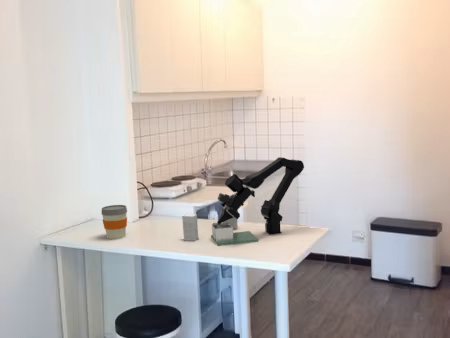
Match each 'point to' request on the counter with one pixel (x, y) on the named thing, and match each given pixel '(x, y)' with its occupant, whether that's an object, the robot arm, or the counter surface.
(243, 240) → the board
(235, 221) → the can
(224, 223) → the strap
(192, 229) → the skincare box
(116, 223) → the reusable coffee cup
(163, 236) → the counter surface
